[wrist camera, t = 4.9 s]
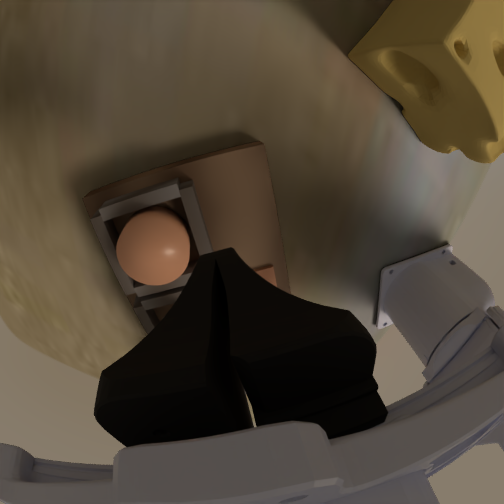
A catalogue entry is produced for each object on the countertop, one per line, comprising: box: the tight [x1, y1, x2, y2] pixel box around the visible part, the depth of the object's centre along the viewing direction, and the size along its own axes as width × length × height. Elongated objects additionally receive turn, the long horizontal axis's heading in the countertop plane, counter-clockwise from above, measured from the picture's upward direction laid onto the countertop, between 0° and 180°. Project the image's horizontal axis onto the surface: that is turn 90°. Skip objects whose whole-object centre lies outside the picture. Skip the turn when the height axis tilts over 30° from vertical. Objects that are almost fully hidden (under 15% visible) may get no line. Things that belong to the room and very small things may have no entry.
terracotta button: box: [116, 206, 190, 285], centre depth 17 cm, size 4×4×2 cm
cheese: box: [348, 0, 504, 163], centre depth 12 cm, size 10×11×10 cm
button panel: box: [83, 141, 291, 394], centre depth 22 cm, size 12×22×3 cm, turn 12°
